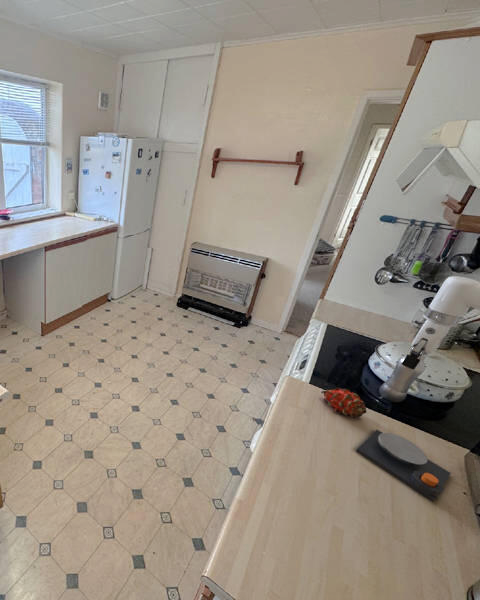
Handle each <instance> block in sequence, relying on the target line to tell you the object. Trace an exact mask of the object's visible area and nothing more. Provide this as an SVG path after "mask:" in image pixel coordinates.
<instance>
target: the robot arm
mask: <svg viewBox="0 0 480 600" xmlns="http://www.w3.org/2000/svg"><path fill="white" fill-rule="evenodd" d="M470 308H472V309H475V310H478V311H480V281H478V280H476V279H473V278H470V277H464V276H460V275H459V276H458V275H452V276H448V277H447V278H446V279H445V280H444V281H443V283H442V285H441V286H440V288H439V289H438V291H437V293H436V294H435V296H434V297H433V299H432V301H431V302H430V304H429V306H428V307H427V309H426V310H425V311H424V314H423V315H422V317H423V318H424V319H426V320H425V321H424V322H423V324H422V325H421V327H420V329H419V330H418V332H417V333H416V335H415V337H414V338H413V341H412V342H411V344H410V346H411V350H410V351H409V352H410V353H409V352H408V353H407V354H406V355H407V356H406V355H405V356H406V357H405V359H404V361H403V362H402V365H403V366H406V367H408V368H410V369H413V370H414V369H415V368H416V366H417V365H418V363H419V362H420V360H421V359H420V358H421V357H422V355H423V354H424V353H425V352H427V355H431V354H433V353H434V352H435V351H436V350H438V348H439V347H440V346H441V344H442V342H443V341H444V340H445V338H446V336H447V335H448V333H449V332H450V330H451V328H456V327H458V325H459V324H460V323H461V321H462V320H463V318H464V317H465V316H466V314H467V312H468V311H469V309H470ZM420 351H421V354H420V353H419V352H420ZM424 360H425V359H423V361H424Z"/></svg>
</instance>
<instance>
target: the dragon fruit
mask: <svg viewBox="0 0 480 600" xmlns="http://www.w3.org/2000/svg"><path fill="white" fill-rule="evenodd" d="M320 393H321V394H323V396H324V397H323V401H324V402H325V404H327V406H329V407H333V408H334V412H335V413H337V414H343V415H345V416H351V417H352V418H354V419H355V418H360V417H362V416H363V415H365V414H366V413H367V407H366V405H365V404H366V403H365V402H364V401H363V399H361V397H360V395H358V394H357V393H356V392H353V391H352V392H351V390H349V389H347V388H340V387H336V388H335V389H329V390H322V391H321V392H320Z"/></svg>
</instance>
